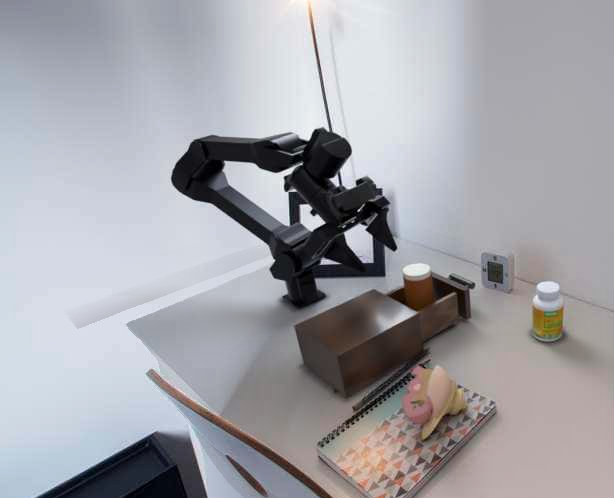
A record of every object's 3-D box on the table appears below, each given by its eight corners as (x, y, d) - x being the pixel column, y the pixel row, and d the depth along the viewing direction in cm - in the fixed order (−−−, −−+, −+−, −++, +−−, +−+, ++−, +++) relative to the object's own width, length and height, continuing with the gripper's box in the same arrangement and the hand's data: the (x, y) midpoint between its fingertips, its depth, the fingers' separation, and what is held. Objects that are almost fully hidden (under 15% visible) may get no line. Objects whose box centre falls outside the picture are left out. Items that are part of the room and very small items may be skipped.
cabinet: (380, 326, 99) (373, 288, 95) (423, 352, 91) (419, 312, 87) (304, 365, 89) (293, 325, 85) (346, 398, 81) (336, 356, 77)
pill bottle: (403, 318, 97) (396, 270, 92) (423, 307, 100) (418, 260, 95) (420, 328, 94) (414, 279, 89) (441, 316, 97) (436, 268, 92)
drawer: (446, 290, 108) (444, 262, 105) (486, 308, 101) (485, 280, 98) (371, 328, 96) (365, 299, 93) (410, 353, 90) (406, 321, 87)
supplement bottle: (542, 345, 92) (543, 297, 87) (526, 330, 96) (526, 284, 91) (568, 336, 94) (570, 289, 89) (551, 322, 98) (553, 276, 93)
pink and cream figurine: (459, 390, 83) (487, 376, 75) (442, 453, 78) (470, 445, 70) (406, 369, 80) (429, 352, 72) (384, 433, 75) (407, 422, 67)
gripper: (302, 182, 81) (371, 258, 83) (375, 151, 96) (432, 216, 97) (275, 223, 88) (339, 292, 89) (347, 188, 103) (401, 248, 104)
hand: (381, 260), depth 95 cm, fingers open, 9 cm apart
